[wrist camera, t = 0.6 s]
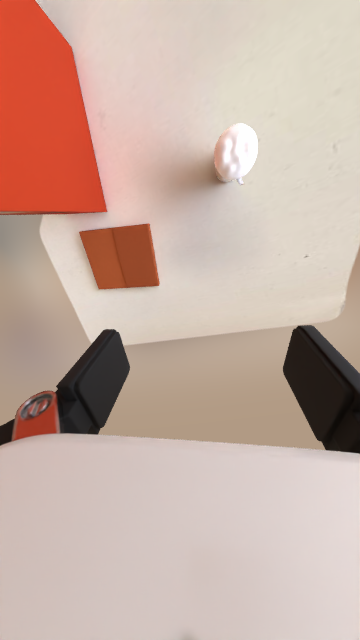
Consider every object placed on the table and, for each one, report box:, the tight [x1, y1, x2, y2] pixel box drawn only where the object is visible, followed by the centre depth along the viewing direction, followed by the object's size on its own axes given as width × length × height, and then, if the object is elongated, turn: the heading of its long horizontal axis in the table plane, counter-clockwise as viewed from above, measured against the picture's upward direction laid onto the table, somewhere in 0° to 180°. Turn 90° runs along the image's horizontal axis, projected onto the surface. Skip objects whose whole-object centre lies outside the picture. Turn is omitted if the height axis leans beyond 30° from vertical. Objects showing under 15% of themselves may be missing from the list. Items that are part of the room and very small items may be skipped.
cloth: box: [79, 224, 159, 289], centre depth 34 cm, size 11×13×1 cm
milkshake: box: [214, 123, 258, 185], centre depth 22 cm, size 4×5×10 cm
